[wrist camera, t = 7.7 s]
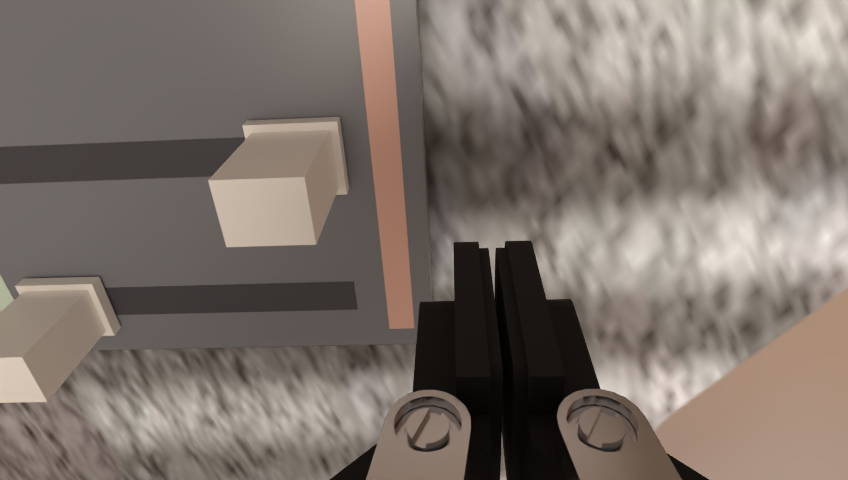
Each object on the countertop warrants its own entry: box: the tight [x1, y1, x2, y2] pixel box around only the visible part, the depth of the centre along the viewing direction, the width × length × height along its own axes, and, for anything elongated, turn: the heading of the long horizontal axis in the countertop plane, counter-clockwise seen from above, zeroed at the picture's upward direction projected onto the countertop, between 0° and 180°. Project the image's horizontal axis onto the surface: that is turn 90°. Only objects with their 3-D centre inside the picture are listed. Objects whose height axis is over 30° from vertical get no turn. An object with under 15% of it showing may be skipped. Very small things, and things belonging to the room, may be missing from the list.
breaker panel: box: [0, 0, 434, 350], centre depth 23 cm, size 20×22×2 cm
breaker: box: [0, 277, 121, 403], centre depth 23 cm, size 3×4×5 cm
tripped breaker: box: [208, 117, 349, 247], centre depth 19 cm, size 3×4×5 cm
